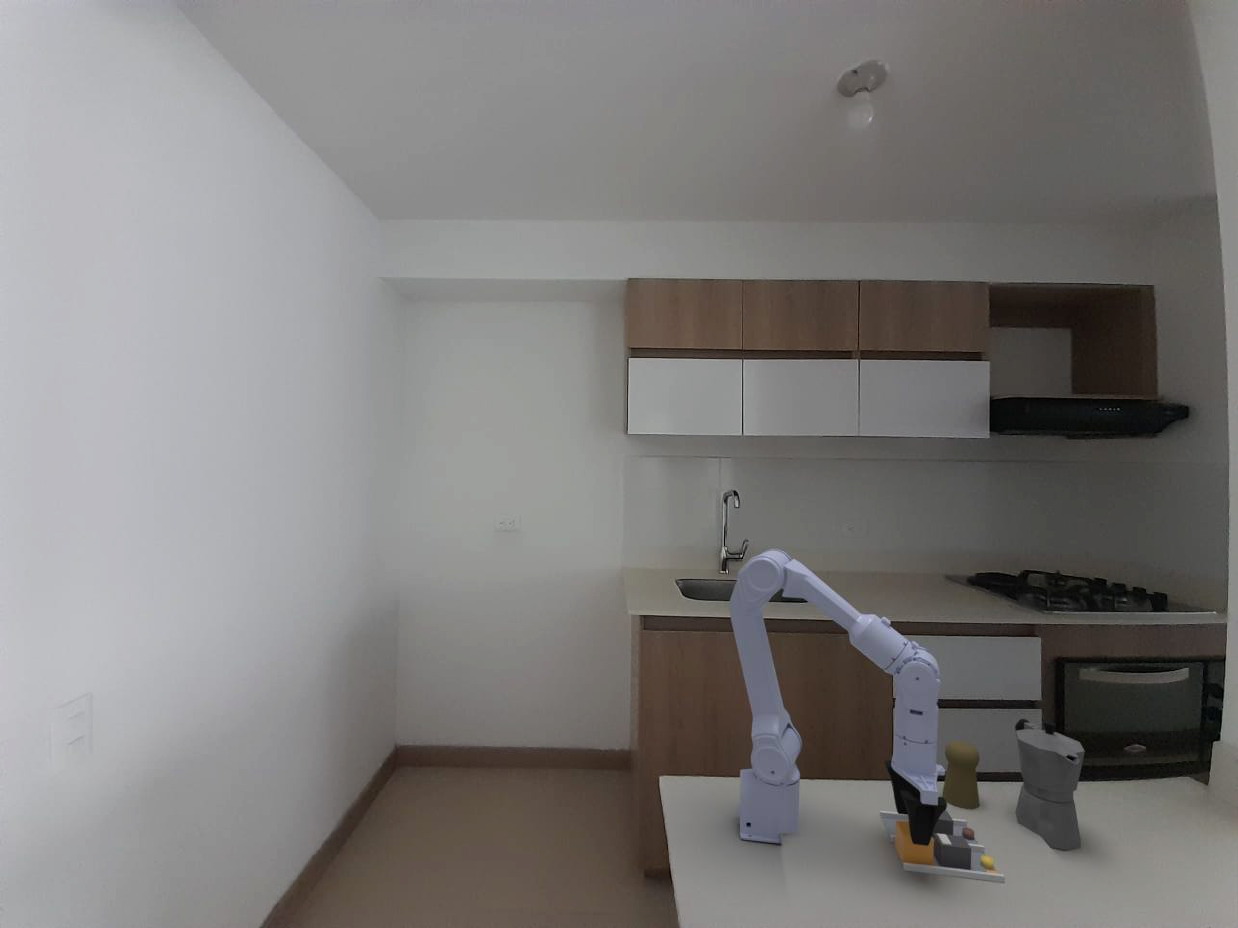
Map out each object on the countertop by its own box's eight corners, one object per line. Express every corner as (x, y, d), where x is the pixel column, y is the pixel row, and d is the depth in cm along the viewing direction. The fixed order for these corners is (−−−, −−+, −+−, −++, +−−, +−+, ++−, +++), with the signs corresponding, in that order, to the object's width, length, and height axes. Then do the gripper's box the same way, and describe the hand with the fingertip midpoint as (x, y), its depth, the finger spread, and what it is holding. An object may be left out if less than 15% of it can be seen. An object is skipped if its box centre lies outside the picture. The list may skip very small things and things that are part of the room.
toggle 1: (925, 837, 97) (925, 816, 97) (918, 826, 100) (919, 806, 100) (952, 840, 96) (953, 819, 96) (946, 829, 99) (946, 809, 99)
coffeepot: (1106, 861, 95) (1109, 741, 95) (1040, 857, 95) (1043, 738, 95) (1043, 805, 110) (1046, 702, 110) (987, 802, 111) (990, 699, 111)
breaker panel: (903, 880, 89) (904, 862, 89) (879, 824, 103) (880, 809, 103) (1004, 893, 87) (1004, 874, 87) (965, 834, 101) (966, 818, 101)
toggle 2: (940, 865, 90) (941, 843, 90) (933, 853, 93) (934, 831, 93) (970, 869, 89) (971, 847, 89) (962, 856, 92) (963, 835, 92)
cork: (986, 820, 105) (988, 754, 105) (946, 815, 106) (948, 750, 106) (973, 801, 111) (975, 739, 111) (936, 797, 112) (938, 735, 112)
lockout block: (902, 863, 90) (903, 835, 90) (895, 846, 94) (895, 820, 94) (932, 866, 90) (933, 838, 90) (923, 850, 94) (924, 823, 94)
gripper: (963, 760, 84) (960, 862, 84) (928, 717, 99) (925, 804, 99) (907, 755, 85) (904, 855, 86) (880, 713, 100) (878, 799, 100)
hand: (912, 827), depth 92 cm, fingers open, 7 cm apart
